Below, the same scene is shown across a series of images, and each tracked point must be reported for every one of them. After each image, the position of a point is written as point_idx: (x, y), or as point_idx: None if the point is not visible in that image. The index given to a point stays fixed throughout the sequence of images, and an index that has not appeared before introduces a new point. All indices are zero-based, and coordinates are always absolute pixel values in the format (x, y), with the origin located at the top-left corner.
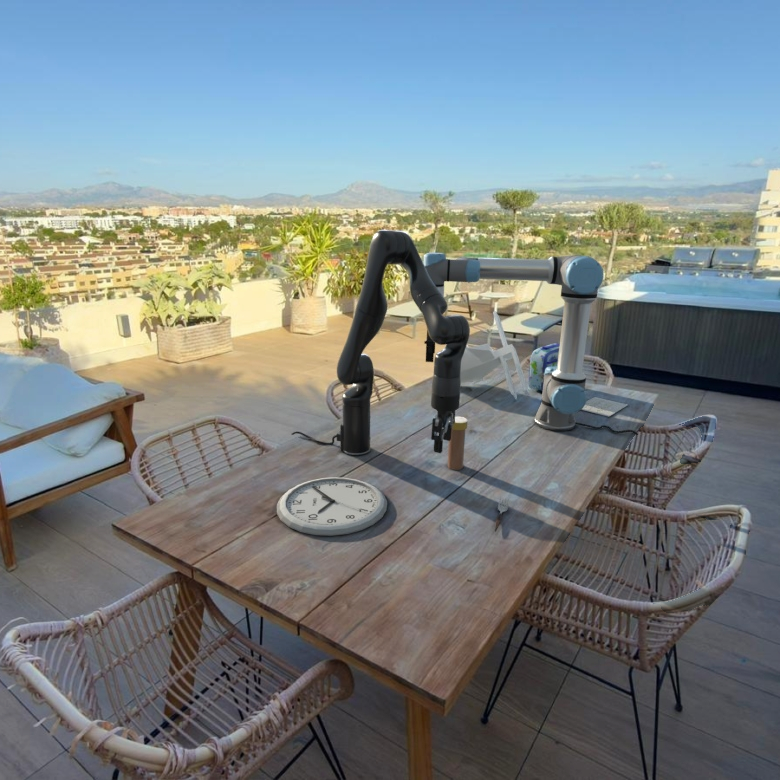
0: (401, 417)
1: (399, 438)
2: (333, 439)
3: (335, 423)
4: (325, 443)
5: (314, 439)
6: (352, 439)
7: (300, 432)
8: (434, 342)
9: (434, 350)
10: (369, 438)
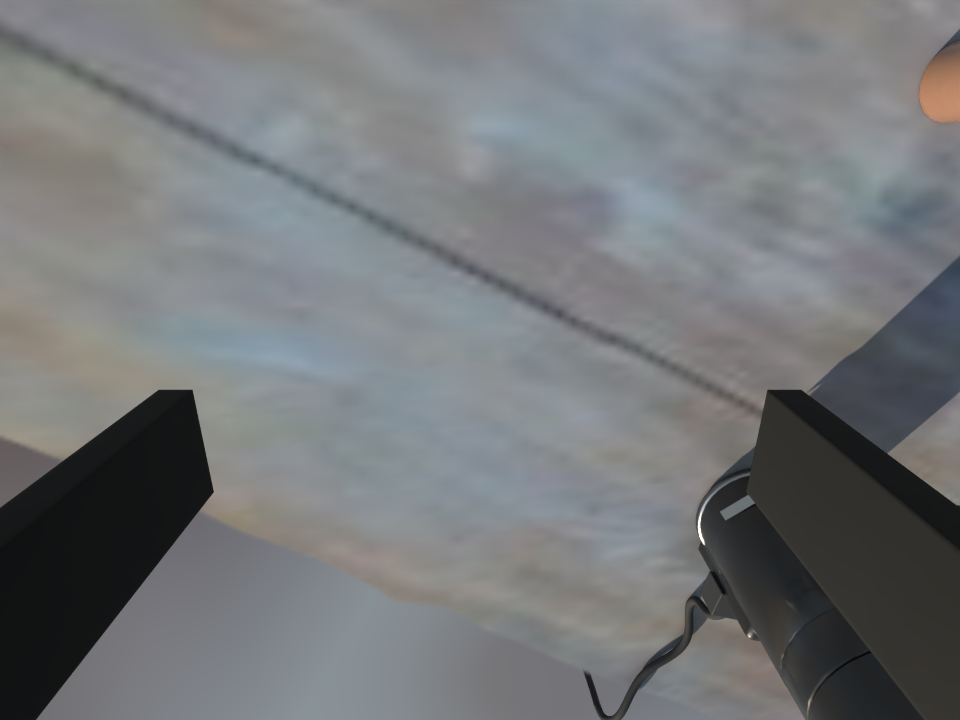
0: (337, 386)
1: (616, 369)
2: (708, 609)
3: (475, 623)
4: (692, 618)
5: (673, 657)
6: None
7: (626, 709)
8: (61, 515)
9: (169, 418)
10: None
